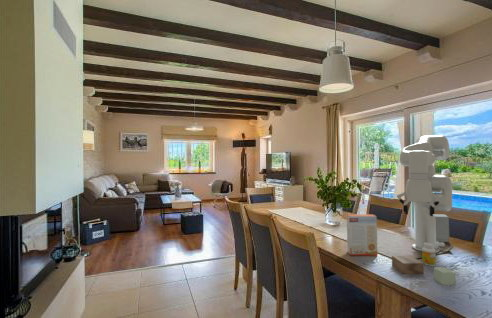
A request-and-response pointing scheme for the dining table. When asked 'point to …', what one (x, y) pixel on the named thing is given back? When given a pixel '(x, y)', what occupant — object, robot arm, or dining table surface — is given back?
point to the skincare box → (442, 228)
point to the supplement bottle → (429, 254)
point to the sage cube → (444, 275)
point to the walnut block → (408, 265)
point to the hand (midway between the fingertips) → (418, 214)
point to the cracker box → (362, 234)
